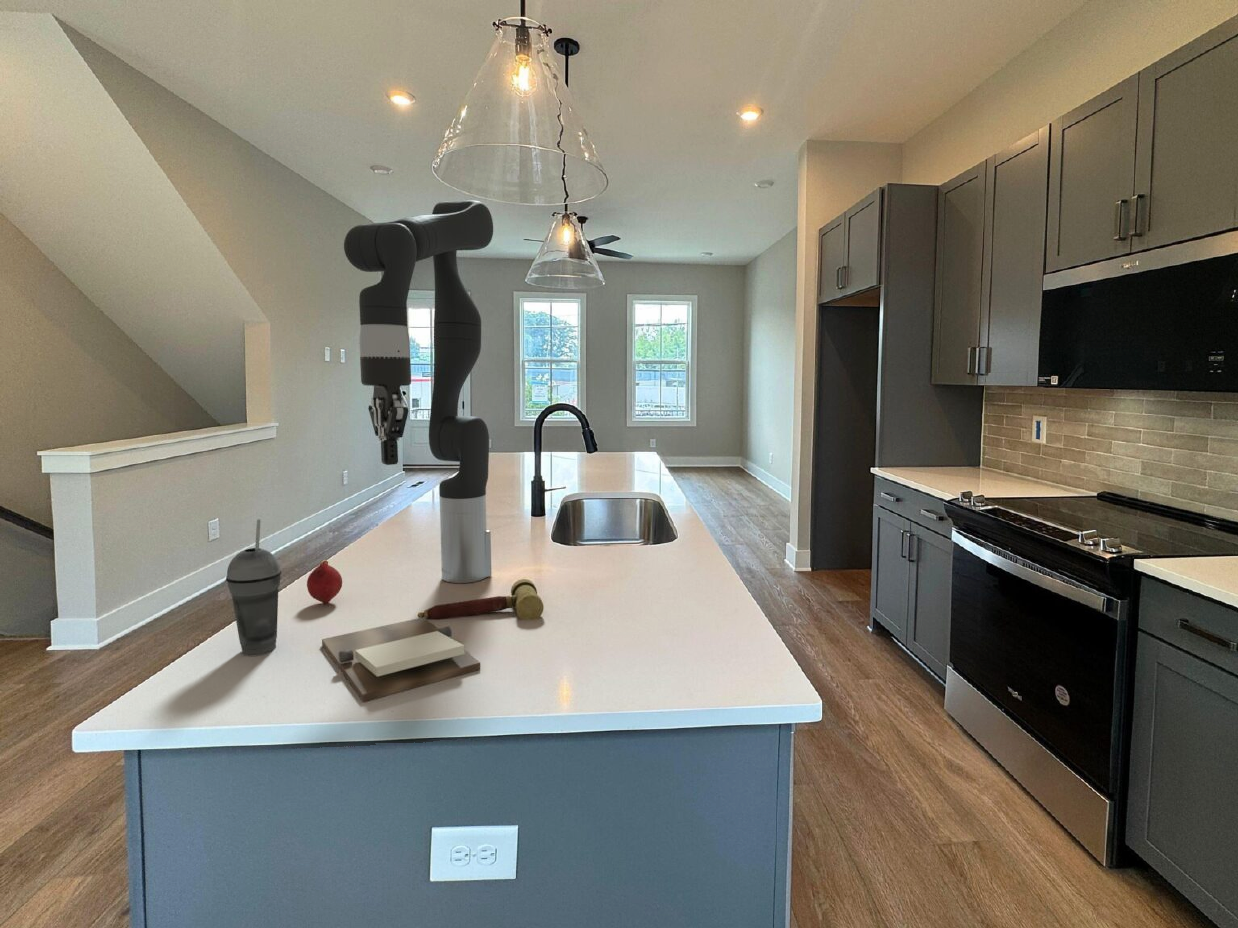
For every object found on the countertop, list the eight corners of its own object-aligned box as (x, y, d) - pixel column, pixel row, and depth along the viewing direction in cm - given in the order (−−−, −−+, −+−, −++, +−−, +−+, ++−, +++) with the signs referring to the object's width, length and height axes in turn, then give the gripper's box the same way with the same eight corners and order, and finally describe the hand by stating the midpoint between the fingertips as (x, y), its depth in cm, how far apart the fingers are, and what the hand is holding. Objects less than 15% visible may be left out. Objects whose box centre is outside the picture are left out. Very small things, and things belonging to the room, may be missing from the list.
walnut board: (424, 622, 110) (423, 606, 109) (480, 669, 92) (480, 650, 92) (322, 645, 100) (321, 627, 100) (363, 701, 83) (362, 680, 82)
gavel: (414, 612, 106) (416, 593, 116) (417, 639, 107) (419, 618, 116) (542, 593, 111) (534, 577, 121) (544, 619, 112) (536, 600, 122)
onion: (329, 609, 116) (327, 565, 115) (301, 607, 117) (298, 563, 116) (349, 599, 121) (347, 557, 120) (321, 596, 122) (319, 555, 121)
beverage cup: (245, 640, 102) (236, 514, 99) (294, 639, 102) (286, 514, 100) (221, 660, 95) (211, 525, 92) (273, 658, 95) (264, 524, 93)
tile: (463, 645, 91) (464, 654, 91) (437, 630, 99) (438, 639, 99) (376, 667, 84) (377, 677, 84) (355, 650, 92) (355, 659, 92)
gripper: (423, 354, 100) (427, 466, 102) (395, 357, 111) (399, 458, 113) (373, 353, 96) (378, 470, 98) (349, 356, 106) (354, 461, 108)
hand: (389, 463), depth 105 cm, fingers closed
